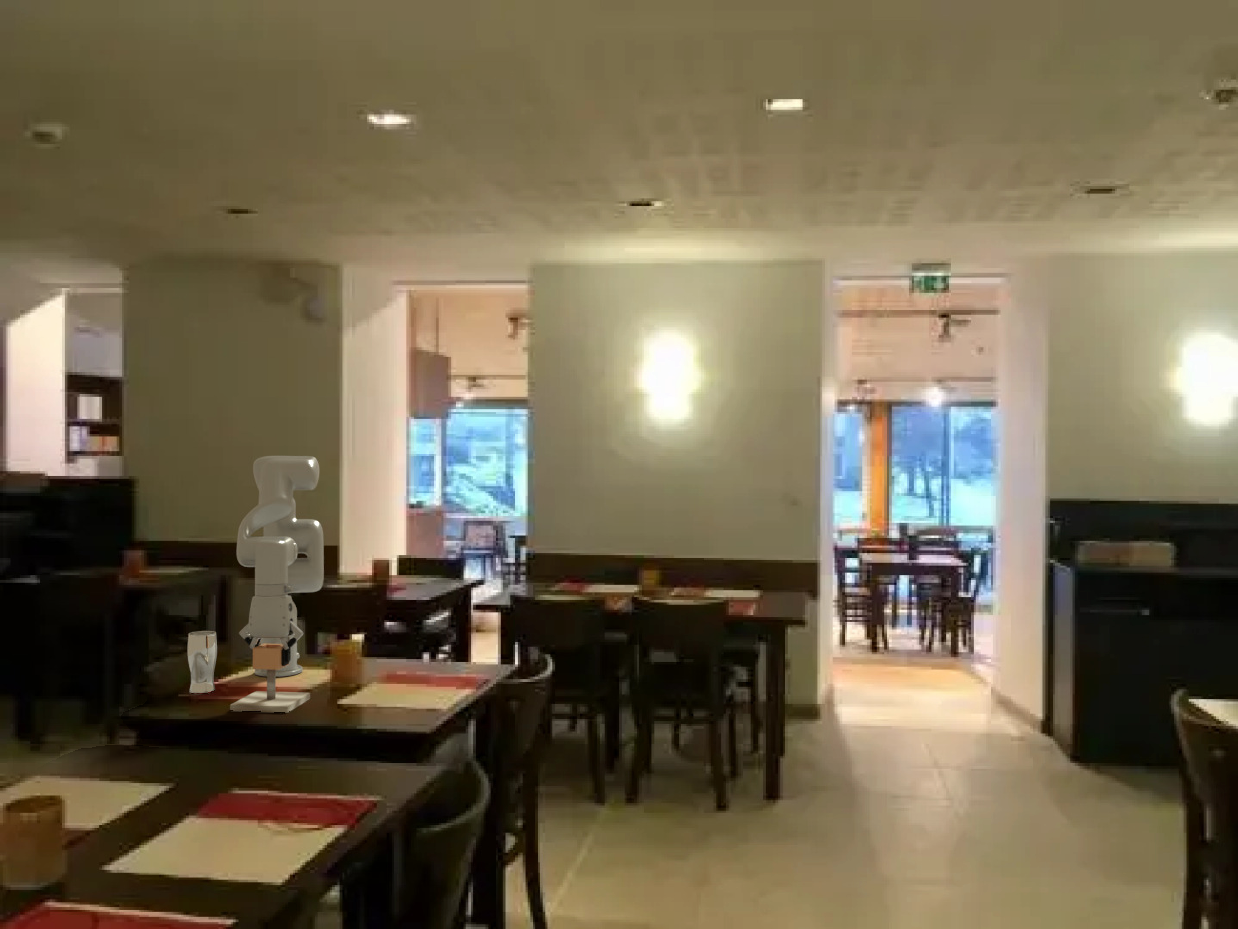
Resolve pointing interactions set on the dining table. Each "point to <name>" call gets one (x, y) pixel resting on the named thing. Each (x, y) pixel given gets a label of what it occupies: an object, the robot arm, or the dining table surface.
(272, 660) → the orange square block
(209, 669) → the beer glass
